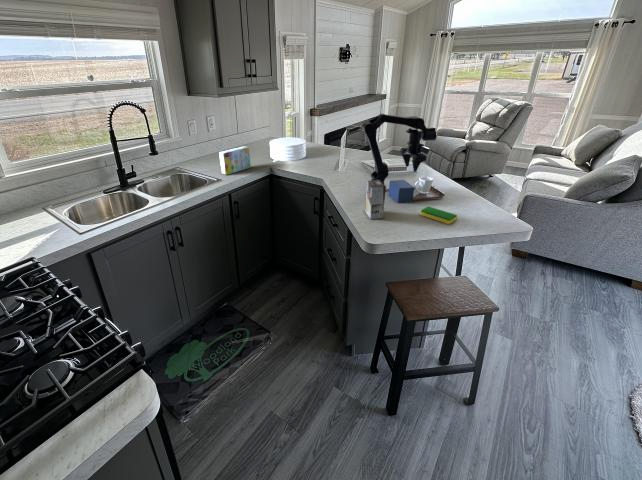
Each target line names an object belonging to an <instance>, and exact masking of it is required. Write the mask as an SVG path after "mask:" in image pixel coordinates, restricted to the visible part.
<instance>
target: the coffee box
mask: <svg viewBox="0 0 642 480" xmlns="http://www.w3.org/2000/svg"><path fill="white" fill-rule="evenodd" d="M386 190H387V185H385V183H384V184H383V183H382V182H381V181H380V180H371V179H370V180H366V190H365V191H366V192H365V207H364V212H365V213H366V215H367V216H368V218H369V219H370V220H376V219H378V220H379V219H383V218H384V211H385V199H386Z"/></svg>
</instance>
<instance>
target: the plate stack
mask: <svg viewBox="0 0 642 480" xmlns="http://www.w3.org/2000/svg"><path fill="white" fill-rule="evenodd" d="M306 143H307V141H306V139H304V138H301V137H292V136H291V137H288V136H287V137H278V138H274V139H271V140H270V141H269V154H270V155H269V156H270V159H273V160H275V161H281V162H289V161H290V162H291V161H299V160H302V159H304V158H306V156H307V150H306V149H307V144H306Z"/></svg>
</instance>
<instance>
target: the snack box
mask: <svg viewBox="0 0 642 480" xmlns="http://www.w3.org/2000/svg"><path fill="white" fill-rule="evenodd" d="M218 156H219V163H220V169H221V170H220V171H221V174H222V175H225V176H227V175H230V174H234V173H236V172H237V173H238V172H240V171H244V170H247V169H251V168H252V167H251V156H250V147H249V146H246V145H244V146H243V145H242V146H240V147H235V148H231V149H227V150H223V151H219V152H218Z"/></svg>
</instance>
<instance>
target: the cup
mask: <svg viewBox="0 0 642 480" xmlns="http://www.w3.org/2000/svg"><path fill="white" fill-rule="evenodd" d="M433 182H434V178H433V177H431V176H427V175H426V176H422V175H421V176H420V177H418V180H417V181H416V182H415V183H414V186H413V187H414V190H415V191H416V189H417V184H418V185H419V188H420V192H418V191H416V192H418V193H422V194H428V193H429V192H428V191H429V190H430V188H431V185H433Z"/></svg>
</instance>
